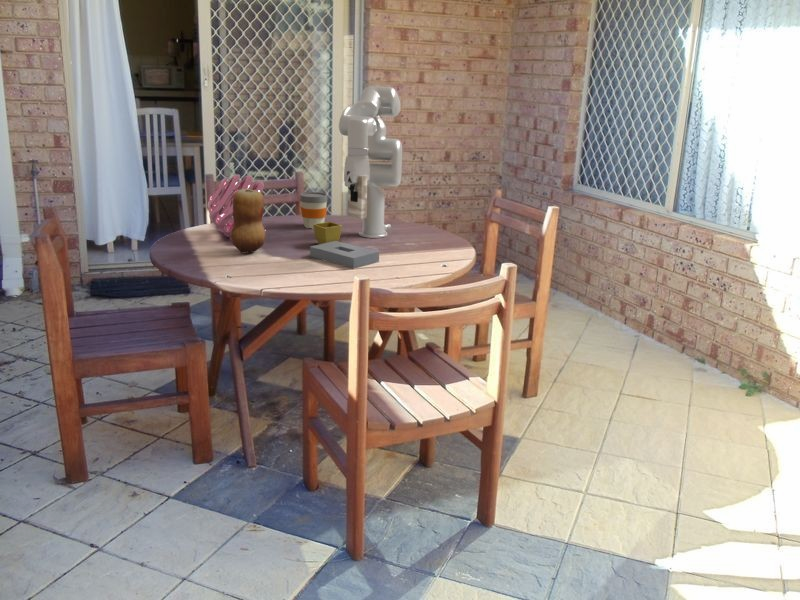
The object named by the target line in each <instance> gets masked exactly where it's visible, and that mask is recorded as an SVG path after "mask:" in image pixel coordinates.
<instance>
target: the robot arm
mask: <svg viewBox="0 0 800 600" xmlns="http://www.w3.org/2000/svg"><path fill="white" fill-rule="evenodd" d="M401 105H402V104H401V99H400V97H399V94H398V92H397V90H396V88H394V87H393V86H381V85H378V86H377V85H375V86H374V85H370V86H366V87H365V88H363V90H362V92H361V94H360V97H359V99H358V101H357V102H355V103H353V104H351V105H348V106H347V107H346V108H344V110H343V111H342V113H341V114H340V115H341V116H340V117H339V121H338V122H339V123H338V131H339V133H340V134H341V135H342V136H345V137H347V156H346V157H345V162H344V168H343V181H344V186H345V187H347V189H348V188H349V190H350V191H351V197H350V200H351V201H353V202H357V201H358V192H357V183H359V176H363V175H367V217H366V218H362V230H360V231H359V232H358V235H359V236H361V237H363V238H370V239H379V238H380V239H381V238H384V237H387V236H388V232H387V230H388V229H390V228H392V227H391V224H390V223H387V224H385V202H386V201H385V199H386V198H385V193H384V192H383V190H382V189H381V187H398V186H400V185H401V182H402V174H403V173H402V171H403V170H402V169H403V144H402V142H401V140H400V139H397V138H388V137H386V135H387V126H386V124H385V122H384V121H383V119H382V118H381V117H391V118H392V117H393V118H394V117H395V118H396V117H397V116H399V114H400V112H401V107H402V106H401ZM371 160H372V161H381V162H382V161H383V162H390V163H372V162H371V163H370V161H371ZM353 185H354V186H353Z"/></svg>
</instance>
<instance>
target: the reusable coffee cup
mask: <svg viewBox="0 0 800 600" xmlns="http://www.w3.org/2000/svg"><path fill="white" fill-rule="evenodd" d="M299 202H300V205H301V206H300V212H301V217H302V220H303V225H304V226H305V227H306V228H305V227H304V228H305V229H308V228H312V229H311V230H314V227H313V224H318V223H325V220H326V219H325V218H326V217H327V210H328V206H327V205H328V203H327V202H328V194H327V193H325V192H316V191H313V192H311V191H310V192H309V191H308V192H302V193H300V196H299Z"/></svg>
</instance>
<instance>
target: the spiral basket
mask: <svg viewBox="0 0 800 600" xmlns="http://www.w3.org/2000/svg"><path fill="white" fill-rule="evenodd" d="M240 178H241V175H240V174H239V173H238V174H233V176H232V177H231V178H230V179H229V178H228V177H224V178H223V179H222V180H221V181H220V182H219V183H218V185H217V186H216V188H215V189H214V191H213V193H212V194H211V193H210V194H209V199H208V202H207V208H208V210H209V215H208V216H209V220H210V221H212V222H213V224H214V225H215V229H216V230H217V231H219V232H222V233H224V236H225V237H227V238H228V237H231V232H232V228H233V225H234V220H233V198H234V195H235V193H236V192H237V191H238V190H241V189H251V190H256V191H259V192H261V193H262V192H263V191H264V187H265V183H264V182H263V181H262V180H257V181H256V182H255V183H254V184H253V186H251V185H252V182H253V180H254V177H253V176H252V175H249V174H247V175H246V176H244V178H243V179H242V180H241V181H240V182H239V180H240ZM228 179H229V181H228ZM227 181H228V182H227ZM237 184H238V185H237ZM250 187H251V188H250ZM219 213H220V214H219ZM225 228H226V229H225ZM264 231H265V232H266V231H267V229H266V227H264Z"/></svg>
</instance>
